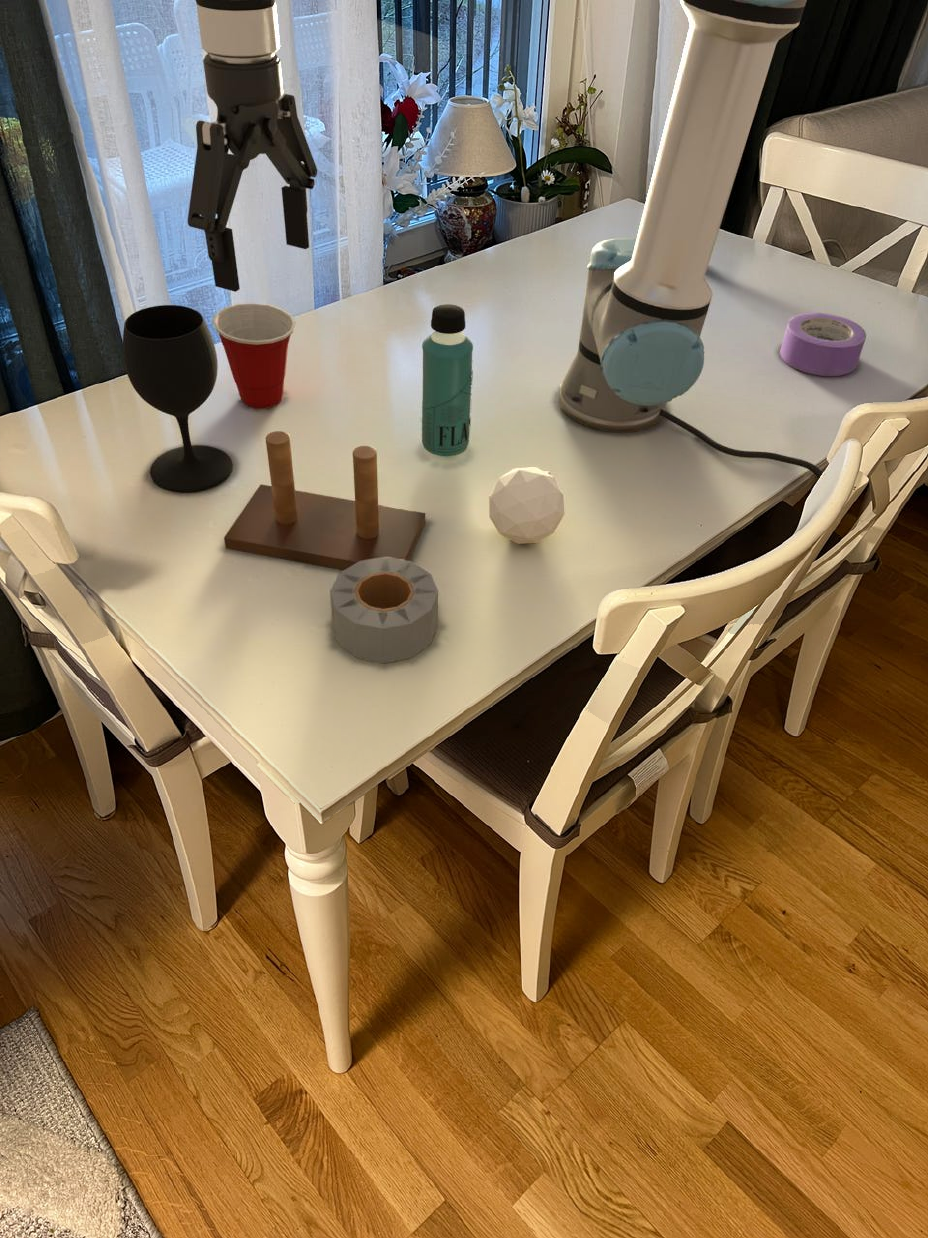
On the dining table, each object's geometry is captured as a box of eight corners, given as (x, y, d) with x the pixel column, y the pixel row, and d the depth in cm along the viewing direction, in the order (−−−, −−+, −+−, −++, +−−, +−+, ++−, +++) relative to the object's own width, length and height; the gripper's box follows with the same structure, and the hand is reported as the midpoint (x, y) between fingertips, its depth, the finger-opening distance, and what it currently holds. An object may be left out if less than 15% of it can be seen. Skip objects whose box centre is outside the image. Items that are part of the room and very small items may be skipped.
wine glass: (156, 447, 123) (124, 301, 109) (237, 446, 124) (215, 301, 110) (143, 494, 116) (107, 343, 102) (229, 492, 116) (205, 343, 103)
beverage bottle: (433, 471, 122) (436, 326, 108) (411, 445, 126) (411, 302, 112) (478, 460, 124) (486, 316, 110) (455, 435, 128) (460, 293, 114)
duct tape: (446, 602, 103) (447, 567, 100) (420, 671, 96) (421, 636, 92) (352, 584, 105) (350, 550, 101) (319, 651, 97) (316, 615, 94)
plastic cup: (287, 423, 129) (279, 342, 120) (212, 412, 130) (199, 331, 122) (312, 385, 136) (306, 306, 128) (241, 375, 138) (231, 296, 129)
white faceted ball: (560, 557, 107) (581, 509, 116) (546, 484, 102) (569, 440, 112) (488, 560, 110) (515, 513, 119) (472, 489, 106) (501, 446, 115)
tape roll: (774, 366, 146) (783, 336, 143) (785, 335, 154) (793, 306, 151) (852, 383, 143) (863, 353, 140) (859, 350, 151) (869, 321, 148)
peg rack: (425, 523, 114) (426, 433, 105) (400, 580, 106) (399, 488, 97) (262, 494, 117) (250, 404, 108) (225, 548, 109) (209, 456, 100)
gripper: (282, 25, 102) (298, 223, 116) (124, 74, 85) (165, 299, 100) (341, 35, 100) (350, 236, 114) (190, 88, 83) (223, 315, 98)
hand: (264, 266), depth 107 cm, fingers open, 13 cm apart
